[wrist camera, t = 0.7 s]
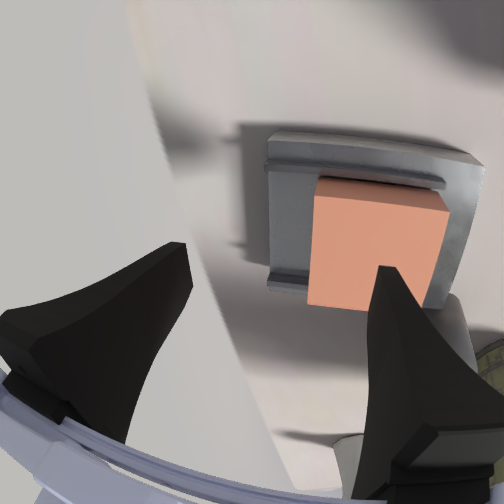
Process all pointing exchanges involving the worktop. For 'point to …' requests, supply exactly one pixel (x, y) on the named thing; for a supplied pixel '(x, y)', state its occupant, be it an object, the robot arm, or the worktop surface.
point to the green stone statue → (500, 378)
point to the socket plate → (368, 170)
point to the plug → (453, 329)
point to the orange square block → (372, 239)
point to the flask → (348, 461)
